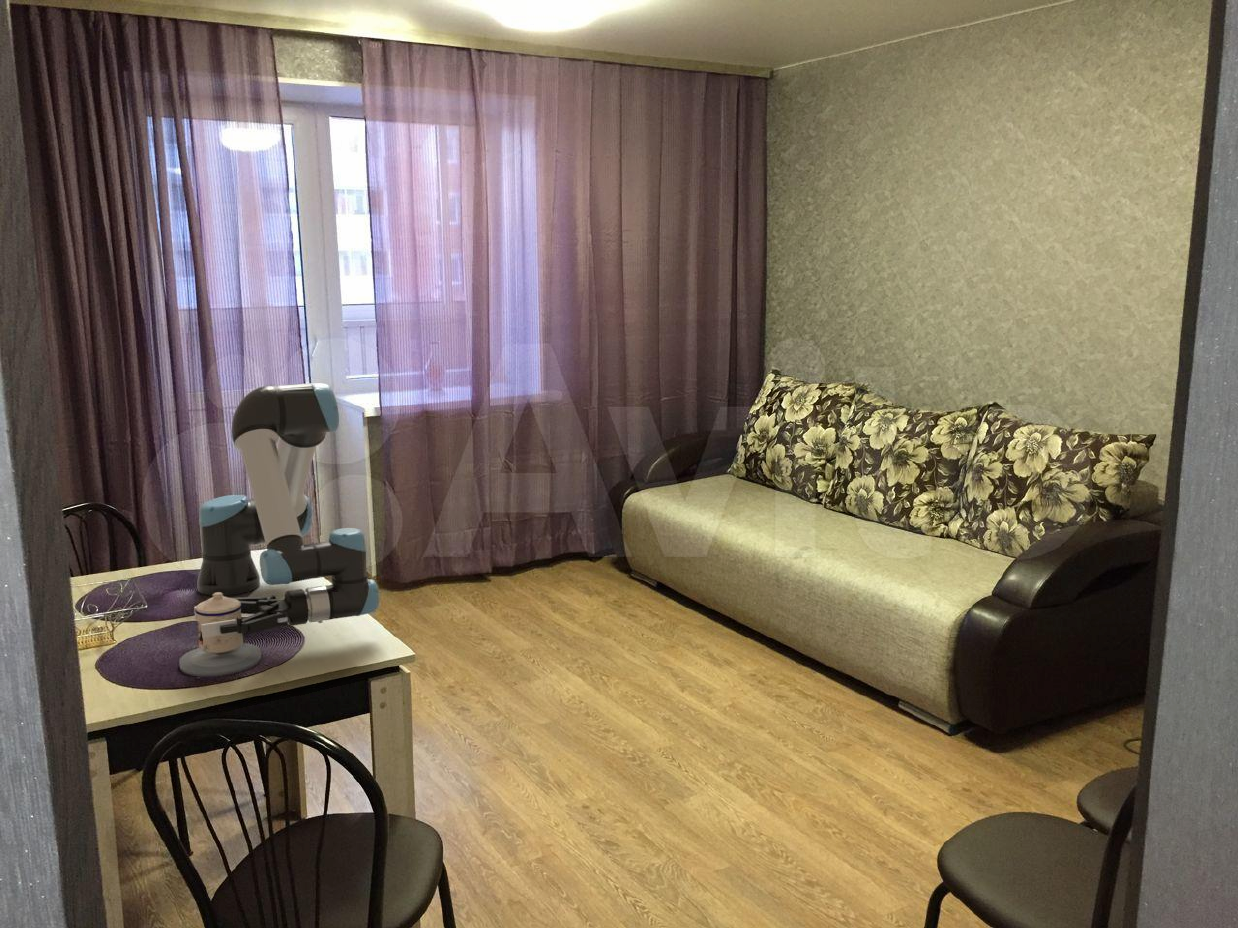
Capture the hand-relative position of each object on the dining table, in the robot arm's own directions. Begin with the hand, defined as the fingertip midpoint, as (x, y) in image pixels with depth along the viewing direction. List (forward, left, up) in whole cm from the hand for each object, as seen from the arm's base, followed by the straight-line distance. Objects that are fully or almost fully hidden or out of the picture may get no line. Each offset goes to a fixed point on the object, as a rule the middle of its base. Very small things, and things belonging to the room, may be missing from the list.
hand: (198, 621), depth 212 cm
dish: (0, +4, -9) cm, 10 cm away
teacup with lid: (0, +4, -7) cm, 8 cm away
